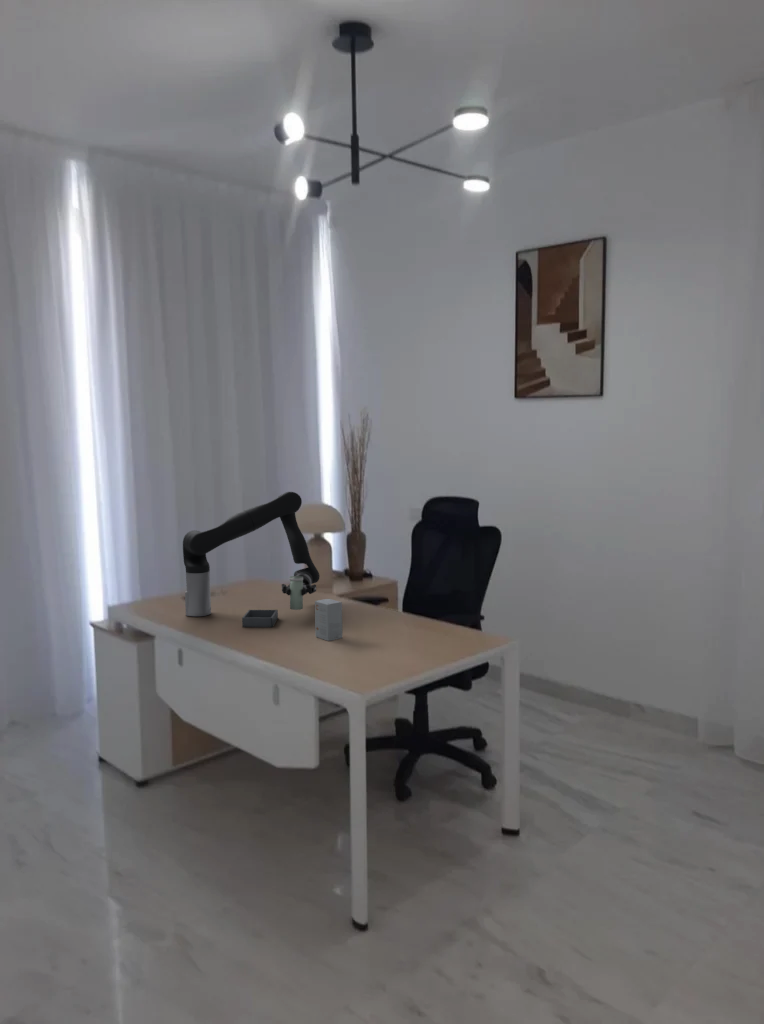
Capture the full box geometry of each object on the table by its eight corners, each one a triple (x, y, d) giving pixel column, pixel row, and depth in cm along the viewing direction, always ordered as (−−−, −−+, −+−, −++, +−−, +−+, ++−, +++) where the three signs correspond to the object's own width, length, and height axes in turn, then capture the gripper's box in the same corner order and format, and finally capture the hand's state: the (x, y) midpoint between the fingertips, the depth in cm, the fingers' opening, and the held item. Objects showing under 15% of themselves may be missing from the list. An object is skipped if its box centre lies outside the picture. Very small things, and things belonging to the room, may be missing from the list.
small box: (342, 638, 283) (342, 601, 281) (328, 641, 279) (327, 604, 277) (329, 633, 289) (328, 598, 287) (314, 636, 285) (314, 600, 283)
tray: (242, 627, 299) (242, 617, 299) (249, 618, 312) (248, 609, 312) (272, 627, 299) (272, 617, 298) (277, 618, 312) (277, 609, 311)
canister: (288, 609, 304) (288, 578, 302) (290, 606, 309) (290, 575, 307) (302, 610, 303) (302, 578, 302) (303, 607, 309) (303, 576, 307)
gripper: (283, 574, 320) (276, 582, 303) (319, 575, 319) (314, 583, 302) (283, 593, 320) (276, 602, 303) (319, 593, 320) (314, 602, 303)
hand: (295, 592), depth 303 cm, fingers closed on canister, 4 cm apart
